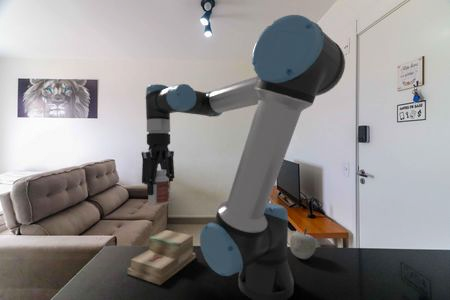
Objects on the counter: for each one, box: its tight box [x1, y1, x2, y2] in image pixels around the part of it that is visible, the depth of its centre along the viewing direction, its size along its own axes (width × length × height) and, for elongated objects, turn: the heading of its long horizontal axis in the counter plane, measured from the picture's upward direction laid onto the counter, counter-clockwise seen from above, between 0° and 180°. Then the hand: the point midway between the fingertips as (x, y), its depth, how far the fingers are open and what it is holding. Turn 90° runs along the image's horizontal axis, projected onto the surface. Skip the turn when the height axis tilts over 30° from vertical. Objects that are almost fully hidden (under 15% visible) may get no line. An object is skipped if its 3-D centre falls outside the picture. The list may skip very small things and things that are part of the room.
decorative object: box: [289, 228, 317, 260], centre depth 83 cm, size 9×9×10 cm
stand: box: [126, 229, 197, 286], centre depth 77 cm, size 13×18×8 cm
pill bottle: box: [154, 169, 170, 206], centre depth 78 cm, size 6×6×11 cm
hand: (159, 202), depth 78 cm, fingers closed on pill bottle, 6 cm apart
